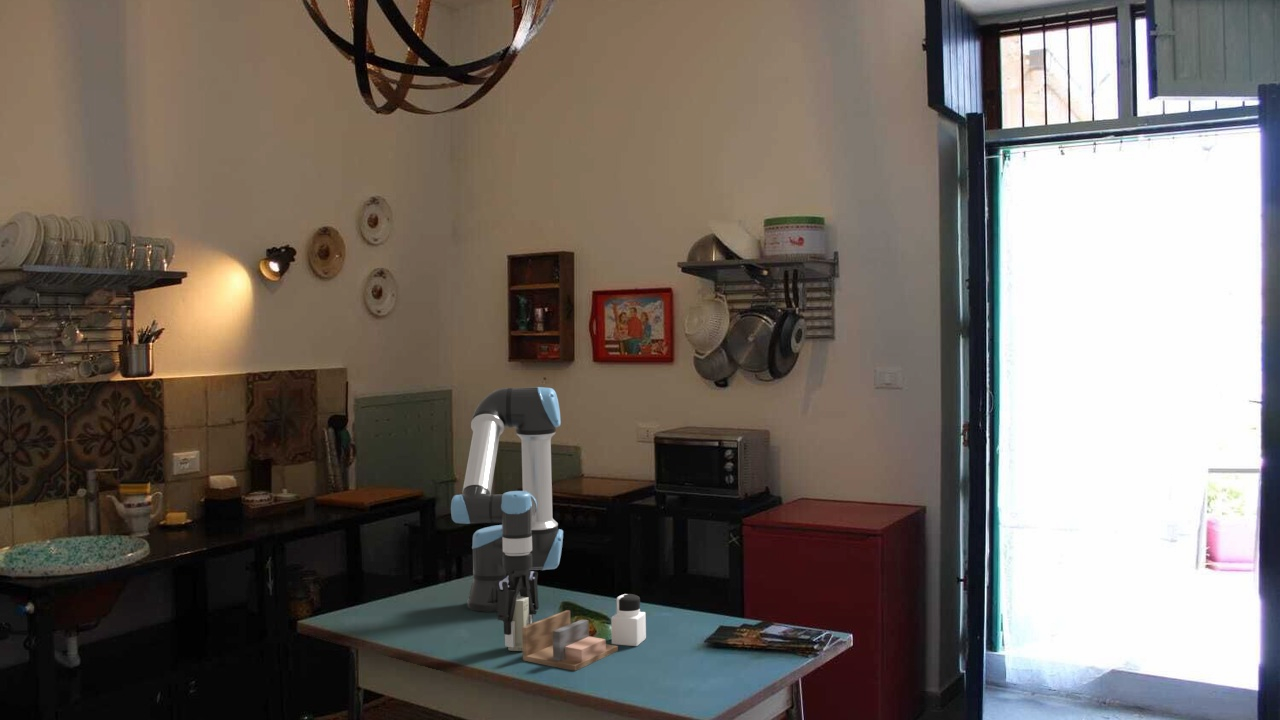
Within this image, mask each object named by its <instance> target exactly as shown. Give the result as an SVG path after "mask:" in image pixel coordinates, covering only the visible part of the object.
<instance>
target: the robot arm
mask: <svg viewBox="0 0 1280 720" xmlns="http://www.w3.org/2000/svg"><path fill="white" fill-rule="evenodd" d="M561 420H562V419H561V410H560V403H559V399H558V395H557V392H556V391H555V389H554V388H551V387H542V386H535V387H528V386H527V387H502V388H498V389H496V390H493V391H492V392H491V393H489V394H488V395H486V396H485V397H484V398H482V400H481V401H480V402H479V403H478V405H477V407H476V408H475V410H474V412H473V415H472V417H471V422H470V427H471V431H472V436H471V443H470V448H469V453H468V460H467V465H466V470H465V475H464V480H463V481H464V482H463V486H462V494H455V495H453V496H452V499H451V503H450V514H451V520H452V521H453V522H454V523H455V524H464V525H465V524H467V525H470V524H497V525H491V526H487V527H483V528H480V529H477V530H476V531H475V532H474V533H473V535H472V546H471V549H472V578H473V580H472V582H471V587H470V590H469V596H468V597H467V608H468V609H469V610H472V611H476V612H488V613H489V612H490V613H491V612H497V614H496V616H497V617H496V618H497V621H502V623H503V635H504V647H512V648H514V647H515V621H512V620H513V614H514V609H515V603H516V597H517V596H523V597H529V624H532V623H534V615H537V612H538V610H539V607H540V605H539V592H538V577H539V572H538V571H539V570H540V571H546V570H555V569H557V568H558V567H559V565H560V562H561V556H562V551H563V550H562V548H563V542H564V541H563V539H564V530H563V529H562V528H561V529H560V528H559V523H558V522H557V521H556V520H555V519H554V518H553V486H552V483H553V481H552V447H551V446H552V441H551V440H552V437H553V436H554V435H555V434H556V433H557V432H556V428H558V427H560V426H561V424H562V423H561ZM506 428H508V429H509V428H514V429H515V434H516V435H517V436H518V437H519V439H520V440H521V470H522V471H521V474H522V477H521V479H522V490H510V491H507V492H504V493H503V494H492V488H493V481H494V474H495V469H496V468H495V467H496V462H497V455H498V449H499V443H500V442H499V441H500V436H501V435H502V434H503V433H504V431H505V429H506ZM498 524H499V525H498ZM508 616H509V617H508Z"/></svg>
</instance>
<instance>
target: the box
mask: <svg viewBox="0 0 1280 720" xmlns="http://www.w3.org/2000/svg"><path fill="white" fill-rule="evenodd" d="M508 617H509V616H508ZM512 621H515V647H514V648H512V647H508V648H507V650H508V651H512V652H523V641H522V627H524V626H526V625H529V597H523V596H520V595H518V596H517V597H516V603H515V609H514V614H513V620H512Z"/></svg>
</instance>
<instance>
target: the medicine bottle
mask: <svg viewBox="0 0 1280 720" xmlns="http://www.w3.org/2000/svg"><path fill="white" fill-rule="evenodd" d="M646 617H647V616H646V611H641V598H640V596H638V595H636V594H632V593H624V594H621V595H619V596H617V597H616V612H615V614H614V615H613V616H611V618H610V620H611V622H610V623H611V629H610V631H611V645H615V646H630V647H639V645H641V643H643V642H644V641H645V640H646V639H647V623H646V622H647V620H646V619H647V618H646Z"/></svg>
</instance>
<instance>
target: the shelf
mask: <svg viewBox="0 0 1280 720" xmlns="http://www.w3.org/2000/svg"><path fill="white" fill-rule="evenodd" d="M589 622H590V621H589V620H587V619H584V618H583V619H580V620H579V619H578V620H576V621H575V622H571V610H569V609H566V610H564V611H561V612H558V613H556V614H553V615H550V616H548V617H544V618H542V619H540V620H537V621H533V623H532V624H529V625H526V626H524V627H522V641H523V651H522V661H525V662H530V663H534V664H540V665H543V666H550V667H553V668H558V669H559V668H560V669H565V670H569V671H575V672H576V671H578V670H581V669H583V668H584V667H586V666H588V665H591V664H593V663H595V662H598V661H599V660H601V659H605V658H606V657H608V656H610V655H613V654H614V653H617V652H618V651H619V645H615V644H610V643H609V644H607V642H606V641H607V640H606V638H601V637H595V636H590V624H589Z"/></svg>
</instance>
